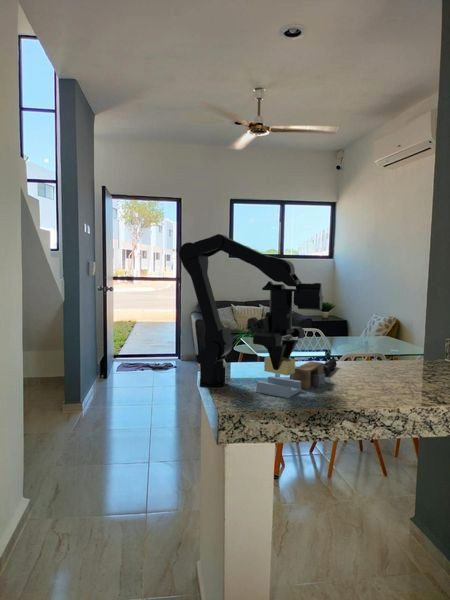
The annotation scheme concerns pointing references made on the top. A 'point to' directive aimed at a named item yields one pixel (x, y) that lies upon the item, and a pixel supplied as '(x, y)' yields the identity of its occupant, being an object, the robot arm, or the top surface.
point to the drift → (315, 379)
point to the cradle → (279, 387)
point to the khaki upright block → (280, 366)
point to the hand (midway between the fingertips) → (279, 368)
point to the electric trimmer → (329, 366)
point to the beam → (307, 373)
